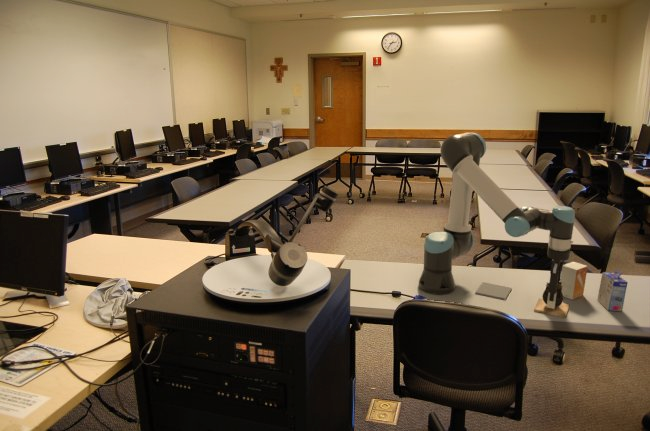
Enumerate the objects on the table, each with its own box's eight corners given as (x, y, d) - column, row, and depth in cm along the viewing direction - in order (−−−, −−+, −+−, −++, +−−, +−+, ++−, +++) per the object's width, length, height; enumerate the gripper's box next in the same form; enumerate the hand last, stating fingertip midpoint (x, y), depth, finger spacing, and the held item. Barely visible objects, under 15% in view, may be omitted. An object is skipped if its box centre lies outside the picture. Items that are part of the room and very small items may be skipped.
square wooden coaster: (534, 310, 184) (534, 309, 184) (538, 300, 193) (538, 298, 193) (565, 317, 178) (565, 315, 178) (569, 306, 187) (569, 304, 187)
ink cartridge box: (623, 311, 182) (629, 276, 178) (608, 311, 183) (613, 276, 179) (611, 300, 192) (616, 266, 188) (596, 300, 192) (601, 266, 189)
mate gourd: (566, 305, 184) (569, 281, 181) (554, 310, 180) (558, 286, 178) (549, 298, 190) (552, 275, 187) (537, 303, 186) (540, 279, 183)
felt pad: (475, 293, 200) (475, 292, 200) (482, 283, 210) (482, 282, 209) (505, 299, 194) (505, 298, 193) (511, 289, 203) (511, 287, 203)
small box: (572, 300, 192) (576, 270, 189) (557, 294, 197) (561, 265, 194) (583, 295, 197) (588, 265, 193) (569, 290, 202) (572, 261, 198)
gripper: (567, 257, 169) (559, 316, 175) (573, 241, 185) (565, 296, 191) (544, 254, 173) (537, 311, 179) (552, 238, 189) (545, 292, 195)
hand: (552, 303), depth 185 cm, fingers closed on mate gourd, 7 cm apart
